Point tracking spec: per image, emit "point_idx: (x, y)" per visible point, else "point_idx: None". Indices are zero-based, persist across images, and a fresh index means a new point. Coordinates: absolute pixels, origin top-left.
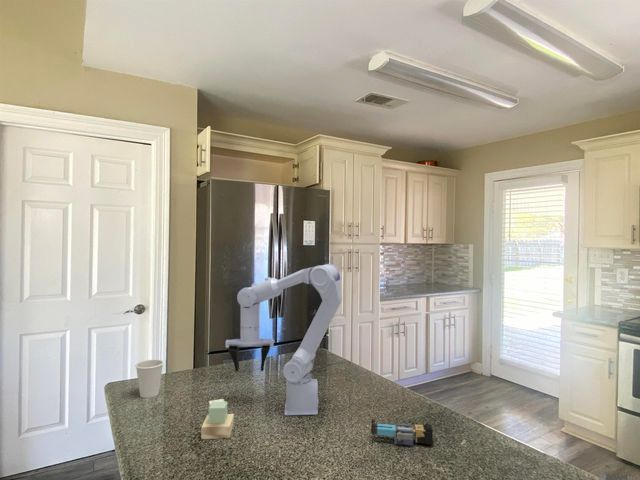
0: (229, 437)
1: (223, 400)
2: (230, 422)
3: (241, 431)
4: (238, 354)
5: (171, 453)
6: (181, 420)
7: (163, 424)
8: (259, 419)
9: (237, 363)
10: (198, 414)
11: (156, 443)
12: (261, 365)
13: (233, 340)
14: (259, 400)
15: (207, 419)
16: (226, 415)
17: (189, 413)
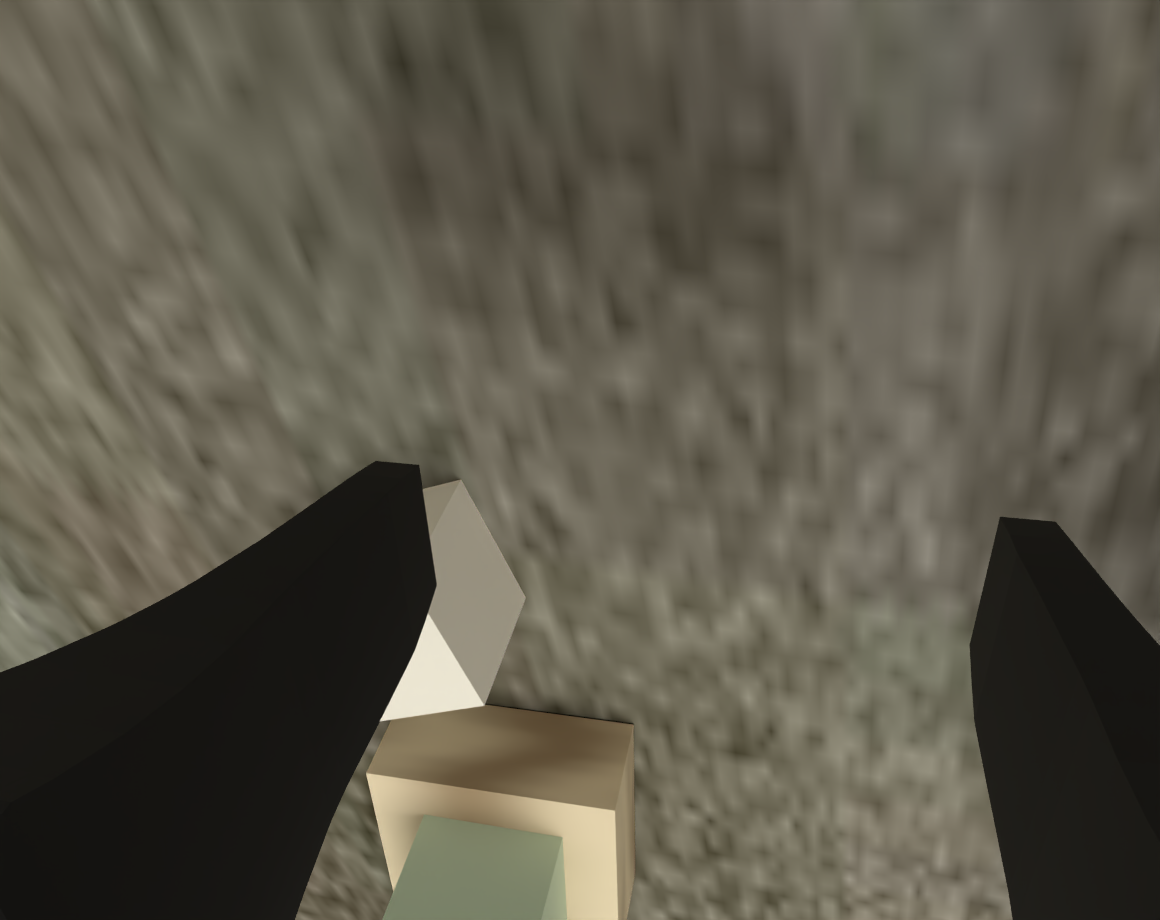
0: (633, 878)
1: (426, 620)
2: (613, 917)
3: (716, 815)
4: (226, 676)
5: (316, 917)
6: (136, 574)
7: (36, 611)
8: (883, 677)
9: (362, 706)
10: (225, 489)
11: None
12: (998, 791)
13: None
14: (904, 193)
15: (400, 841)
16: (556, 894)
17: (127, 457)
